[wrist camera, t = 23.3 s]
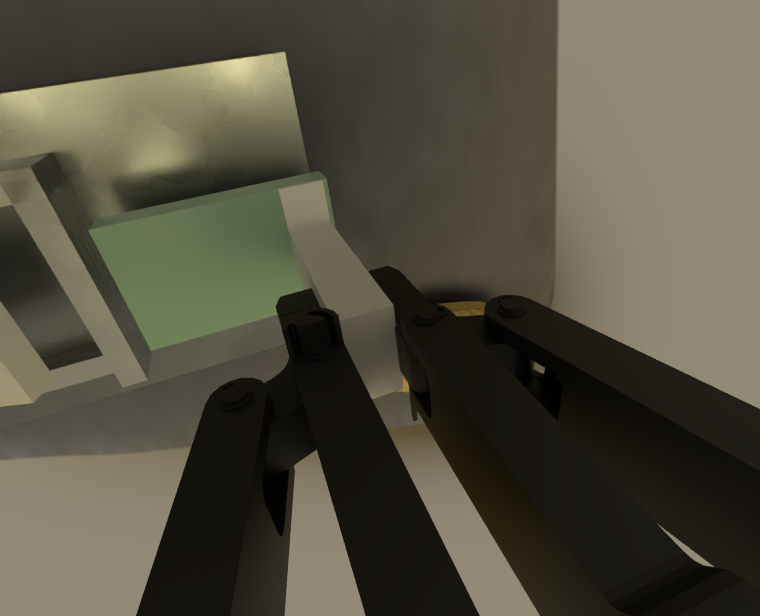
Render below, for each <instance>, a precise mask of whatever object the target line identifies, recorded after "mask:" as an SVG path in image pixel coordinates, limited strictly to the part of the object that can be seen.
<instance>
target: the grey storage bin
mask: <svg viewBox="0 0 760 616" xmlns="http://www.w3.org/2000/svg"><path fill="white" fill-rule="evenodd" d="M307 173H310V172H309V167H308V162H307V157H306V152H305V148H304V143H303V138H302V133H301V128H300V123H299V118H298V114H297V109H296V104H295V99H294V94H293V89H292V84H291V80H290V75H289V70H288V65H287V60H286V55H285V52H264V53H257V54H250V55H244V56H237V57H230V58H223V59H216V60H209V61H202V62H196V63H189V64H182V65H175V66H168V67H161V68H154V69H148V70H141V71H134V72H127V73H120V74H113V75H107V76H100V77H93V78H86V79H79V80H72V81H65V82H59V83H52V84H45V85H38V86H31V87H24V88H17V89H11V90H4V91H0V301H1V303H2V304H3V306H4V307H5V308H6V310H7V311H8V313H9V314H10V315H11V317H12V318H13V320H14V321H15V323H16V324H17V325H18V327H19V328H20V330H21V331H22V332H23V334H24V335H25V337H26V338H27V340H28V341H29V342H30V344H31V345H32V347H33V348H34V349H35V351H36V352H37V354H38V355H39V356H40V358H41V359H42V361H43V362H44V364H45V365H46V366H47V368H48V369H49V371H50V372H51V373H52V375H53V376H54V378H55V379H54V380H53V382H52V383H51V384H50V385H49V386H48V387H47V388H46V389H45V391H44V392H43V393H42V394H41V395H40V396H39V397H38V398H37V400H36V401H35V402H34V403H29V404H21V405H12V406H3V407H0V430H2V429H6V428H9V427H12V426H15V425H19V424H22V423H25V422H29V421H32V420H35V419H39V418H42V417H45V416H49V415H52V414H55V413H58V412H62V411H65V410H68V409H72V408H75V407H78V406H82V405H85V404H88V403H92V402H95V401H98V400H101V399H105V398H108V397H111V396H115V395H118V394H121V393H125V392H128V391H131V390H135V389H138V388H141V387H145V386H148V385H151V384H154V383H158V382H161V381H164V380H168V379H171V378H174V377H178V376H181V375H184V374H188V373H191V372H194V371H197V370H201V369H204V368H207V367H211V366H214V365H217V364H221V363H224V362H227V361H231V360H234V359H237V358H240V357H244V356H247V355H250V354H254V353H257V352H260V351H264V350H267V349H270V348H274V347H277V346H280V345H284V344H286V343H285V340H284V336H283V333H282V328H281V324H280V321H279V317H278V315H275V316H271V317H268V318H264V319H261V320H257V321H254V322H250V323H247V324H243V325H240V326H236V327H233V328H229V329H226V330H222V331H219V332H215V333H212V334H208V335H205V336H201V337H198V338H194V339H191V340H187V341H184V342H180V343H177V344H173V345H170V346H166V347H163V348H159V349H156V350H152V351H151V350H150V348H149V346H148V344H147V342H146V340H145V338H144V336H143V334H142V333H141V331H140V329H139V327H138V325H137V323H136V321H135V319H134V317H133V315H132V313H131V311H130V309H129V308H128V306H127V304H126V302H125V300H124V298H123V296H122V294H121V292H120V290H119V288H118V286H117V285H116V283H115V281H114V279H113V277H112V275H111V273H110V271H109V269H108V267H107V265H106V263H105V261H104V260H103V258H102V256H101V254H100V252H99V250H98V248H97V246H96V244H95V242H94V240H93V238H92V237H91V235H90V233H89V231H88V230H89V228H90V227H91V225H92V224H93V222H94V220H95V219H97V218H101V217H106V216H111V215H115V214H120V213H125V212H129V211H134V210H139V209H143V208H148V207H153V206H157V205H162V204H167V203H171V202H176V201H181V200H185V199H190V198H195V197H199V196H204V195H209V194H213V193H218V192H223V191H227V190H232V189H237V188H241V187H246V186H251V185H255V184H260V183H265V182H269V181H274V180H279V179H283V178H288V177H293V176H297V175H302V174H307Z"/></svg>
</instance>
